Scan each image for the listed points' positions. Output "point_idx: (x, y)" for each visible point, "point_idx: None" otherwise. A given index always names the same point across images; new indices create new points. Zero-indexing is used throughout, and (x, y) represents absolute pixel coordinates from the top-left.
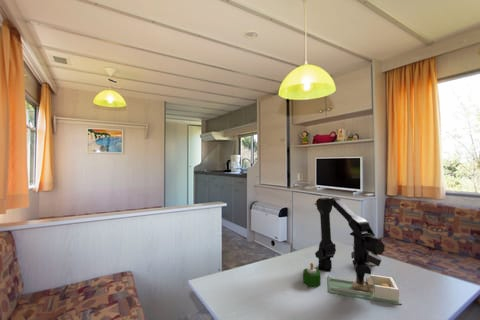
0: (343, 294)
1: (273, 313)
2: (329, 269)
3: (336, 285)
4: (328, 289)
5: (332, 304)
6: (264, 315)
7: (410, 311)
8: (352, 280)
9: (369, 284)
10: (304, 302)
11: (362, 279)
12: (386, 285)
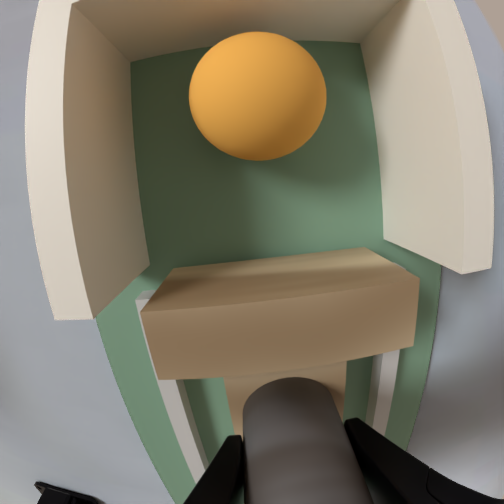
0: (406, 442)
1: (498, 498)
2: (82, 501)
3: None
4: None
5: (485, 439)
6: None
7: None
8: (134, 418)
9: (414, 332)
10: None
11: (383, 440)
12: (290, 58)
